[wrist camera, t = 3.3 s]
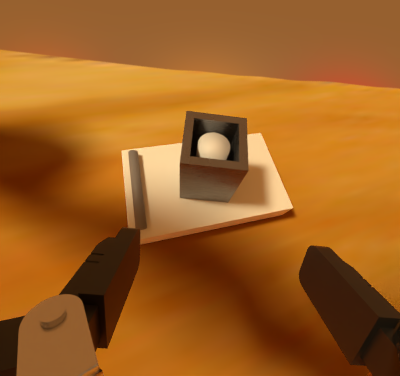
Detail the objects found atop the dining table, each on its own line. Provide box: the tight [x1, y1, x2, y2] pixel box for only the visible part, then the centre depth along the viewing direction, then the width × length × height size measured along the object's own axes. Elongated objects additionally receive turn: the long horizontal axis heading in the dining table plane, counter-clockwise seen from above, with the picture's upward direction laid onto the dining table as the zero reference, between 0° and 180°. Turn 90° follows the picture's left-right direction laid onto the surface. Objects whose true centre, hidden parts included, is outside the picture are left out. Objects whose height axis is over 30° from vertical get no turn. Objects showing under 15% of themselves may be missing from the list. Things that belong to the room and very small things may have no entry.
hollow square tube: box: [180, 111, 249, 203], centre depth 22 cm, size 6×6×8 cm
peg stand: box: [122, 132, 293, 245], centre depth 24 cm, size 20×12×10 cm, turn 103°
